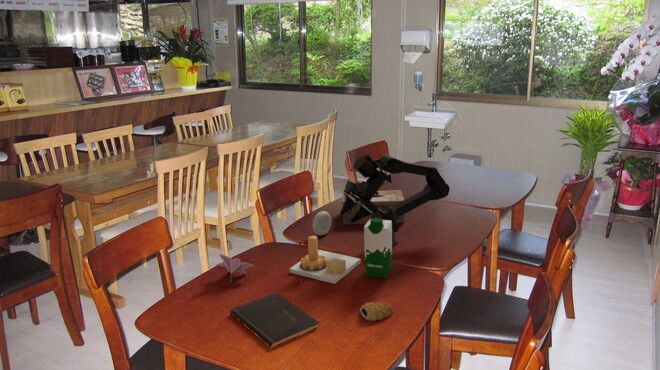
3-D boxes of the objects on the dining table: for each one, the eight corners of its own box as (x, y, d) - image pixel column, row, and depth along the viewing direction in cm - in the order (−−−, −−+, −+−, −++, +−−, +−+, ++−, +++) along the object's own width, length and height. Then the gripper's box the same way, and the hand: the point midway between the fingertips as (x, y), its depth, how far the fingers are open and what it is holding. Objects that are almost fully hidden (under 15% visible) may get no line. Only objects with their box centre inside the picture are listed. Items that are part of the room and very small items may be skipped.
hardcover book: (276, 298, 169) (276, 292, 169) (319, 329, 152) (319, 322, 151) (230, 316, 160) (230, 309, 159) (271, 350, 142) (270, 343, 142)
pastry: (386, 305, 162) (386, 294, 161) (397, 316, 156) (397, 304, 155) (358, 313, 159) (358, 301, 157) (369, 324, 153) (368, 312, 152)
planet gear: (327, 259, 190) (326, 233, 187) (324, 270, 182) (323, 243, 179) (304, 258, 191) (302, 232, 188) (299, 269, 183) (297, 242, 180)
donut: (317, 239, 212) (316, 216, 209) (311, 237, 214) (310, 214, 211) (333, 231, 220) (332, 208, 217) (326, 230, 222) (326, 207, 219)
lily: (258, 283, 181) (258, 254, 183) (231, 282, 172) (231, 252, 174) (234, 285, 188) (234, 257, 190) (207, 284, 179) (208, 255, 181)
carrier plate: (361, 263, 191) (361, 251, 189) (335, 284, 176) (335, 271, 175) (317, 253, 200) (317, 242, 199) (289, 272, 185) (289, 260, 184)
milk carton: (362, 276, 180) (361, 221, 175) (369, 265, 189) (368, 211, 183) (388, 280, 178) (388, 223, 172) (394, 268, 186) (394, 213, 180)
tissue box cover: (343, 224, 228) (342, 202, 225) (343, 213, 242) (342, 191, 239) (404, 223, 227) (404, 200, 224) (400, 211, 241) (400, 190, 238)
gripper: (347, 166, 201) (321, 198, 201) (369, 178, 185) (341, 214, 184) (367, 183, 206) (341, 215, 206) (390, 196, 190) (362, 231, 189)
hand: (346, 218), depth 196 cm, fingers open, 9 cm apart
